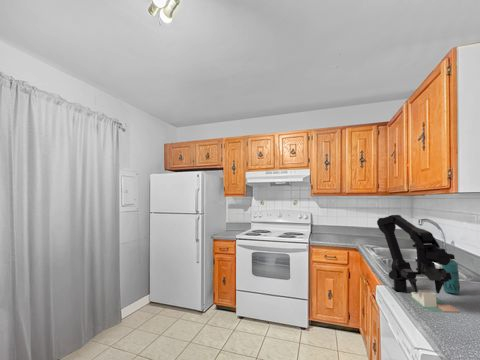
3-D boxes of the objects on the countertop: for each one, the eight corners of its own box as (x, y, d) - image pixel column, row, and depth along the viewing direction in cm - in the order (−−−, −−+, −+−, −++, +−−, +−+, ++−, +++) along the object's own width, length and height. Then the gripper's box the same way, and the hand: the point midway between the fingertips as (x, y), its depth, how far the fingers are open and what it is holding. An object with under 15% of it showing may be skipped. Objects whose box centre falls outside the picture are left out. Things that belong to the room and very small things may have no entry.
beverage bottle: (440, 292, 123) (437, 253, 124) (448, 290, 125) (445, 251, 127) (455, 297, 117) (452, 256, 118) (463, 295, 119) (460, 254, 120)
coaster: (435, 305, 110) (435, 304, 110) (449, 305, 109) (449, 304, 109) (444, 311, 104) (444, 310, 104) (459, 312, 103) (459, 311, 103)
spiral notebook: (411, 296, 119) (411, 292, 119) (422, 297, 118) (422, 292, 118) (418, 302, 113) (418, 297, 113) (430, 302, 112) (430, 297, 112)
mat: (407, 296, 120) (407, 295, 120) (436, 297, 118) (436, 296, 118) (427, 312, 104) (426, 311, 104) (460, 313, 102) (460, 312, 102)
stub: (419, 302, 112) (418, 289, 113) (431, 303, 112) (430, 289, 112) (424, 306, 109) (423, 293, 109) (436, 307, 108) (435, 293, 108)
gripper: (411, 263, 105) (414, 300, 104) (460, 264, 102) (462, 301, 101) (399, 256, 116) (401, 289, 115) (442, 257, 113) (444, 290, 112)
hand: (426, 293), depth 110 cm, fingers open, 9 cm apart
